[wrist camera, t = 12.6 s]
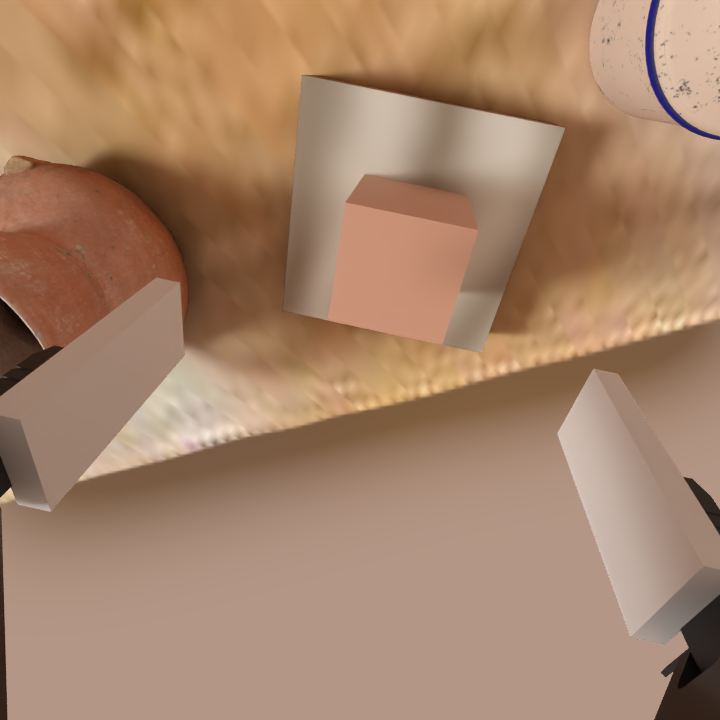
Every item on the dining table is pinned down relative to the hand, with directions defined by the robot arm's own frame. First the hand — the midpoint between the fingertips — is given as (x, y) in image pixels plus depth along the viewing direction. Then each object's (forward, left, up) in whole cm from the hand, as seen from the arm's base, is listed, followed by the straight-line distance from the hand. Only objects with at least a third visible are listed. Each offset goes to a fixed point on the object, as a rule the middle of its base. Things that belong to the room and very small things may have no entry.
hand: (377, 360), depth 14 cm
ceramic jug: (-21, -8, -18) cm, 29 cm away
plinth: (0, 0, -18) cm, 18 cm away
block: (0, 0, -15) cm, 15 cm away
